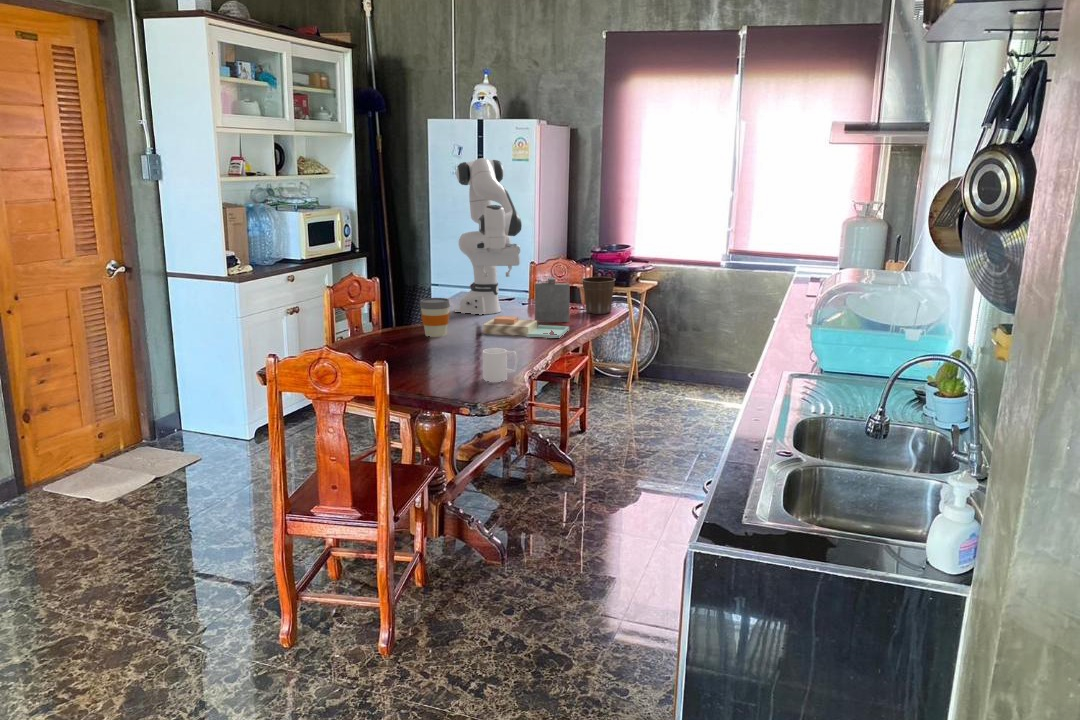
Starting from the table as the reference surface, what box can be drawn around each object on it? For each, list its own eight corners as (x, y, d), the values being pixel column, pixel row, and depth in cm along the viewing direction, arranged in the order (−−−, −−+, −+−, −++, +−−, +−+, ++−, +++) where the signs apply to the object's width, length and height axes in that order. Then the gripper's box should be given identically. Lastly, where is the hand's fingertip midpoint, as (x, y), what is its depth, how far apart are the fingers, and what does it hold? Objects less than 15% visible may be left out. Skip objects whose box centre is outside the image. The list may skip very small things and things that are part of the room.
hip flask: (569, 321, 375) (570, 277, 370) (568, 323, 371) (568, 279, 366) (535, 320, 378) (535, 277, 373) (534, 322, 374) (533, 278, 369)
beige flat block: (483, 333, 350) (483, 324, 349) (493, 327, 363) (493, 318, 362) (528, 336, 345) (528, 327, 344) (537, 329, 358) (537, 320, 357)
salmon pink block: (494, 323, 352) (494, 318, 352) (498, 320, 358) (498, 315, 357) (514, 324, 350) (513, 319, 349) (518, 321, 355) (518, 316, 355)
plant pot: (586, 316, 386) (587, 282, 382) (577, 309, 401) (577, 277, 397) (619, 314, 390) (620, 280, 386) (608, 308, 405) (609, 276, 401)
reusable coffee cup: (433, 330, 357) (431, 296, 353) (456, 333, 351) (455, 299, 347) (415, 336, 346) (413, 301, 343) (439, 339, 340) (437, 303, 337)
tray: (526, 337, 343) (526, 333, 343) (538, 328, 360) (538, 324, 360) (559, 339, 340) (559, 335, 339) (569, 330, 356) (569, 326, 356)
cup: (516, 382, 277) (516, 354, 274) (481, 382, 278) (480, 353, 275) (519, 376, 284) (519, 348, 282) (485, 375, 286) (484, 347, 283)
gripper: (520, 243, 348) (521, 275, 350) (473, 244, 350) (474, 276, 352) (519, 243, 342) (520, 276, 344) (470, 244, 344) (472, 277, 346)
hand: (496, 276), depth 348 cm, fingers open, 8 cm apart
